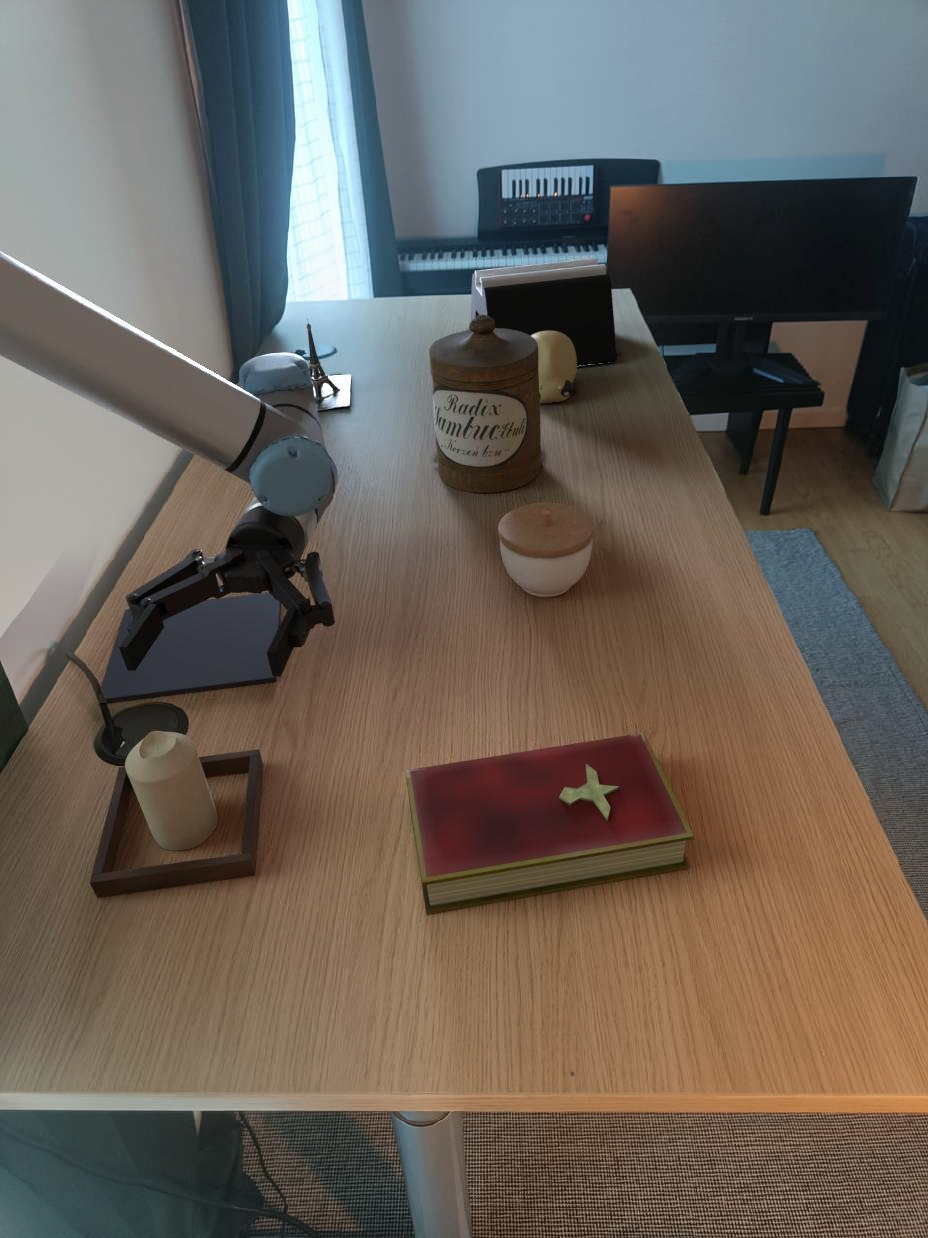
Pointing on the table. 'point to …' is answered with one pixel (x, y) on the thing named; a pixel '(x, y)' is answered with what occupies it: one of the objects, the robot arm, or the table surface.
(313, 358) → the eiffel tower figurine
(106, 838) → the square wooden frame
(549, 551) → the trinket box
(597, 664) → the table surface
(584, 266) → the device stand
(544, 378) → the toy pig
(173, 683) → the felt mat
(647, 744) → the hardcover book
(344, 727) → the table surface
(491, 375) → the wooden container
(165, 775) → the candle
